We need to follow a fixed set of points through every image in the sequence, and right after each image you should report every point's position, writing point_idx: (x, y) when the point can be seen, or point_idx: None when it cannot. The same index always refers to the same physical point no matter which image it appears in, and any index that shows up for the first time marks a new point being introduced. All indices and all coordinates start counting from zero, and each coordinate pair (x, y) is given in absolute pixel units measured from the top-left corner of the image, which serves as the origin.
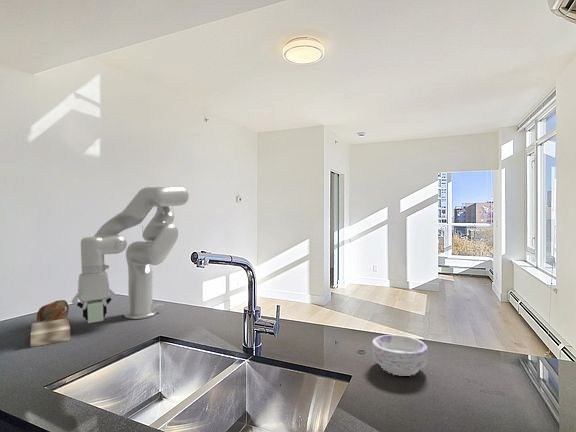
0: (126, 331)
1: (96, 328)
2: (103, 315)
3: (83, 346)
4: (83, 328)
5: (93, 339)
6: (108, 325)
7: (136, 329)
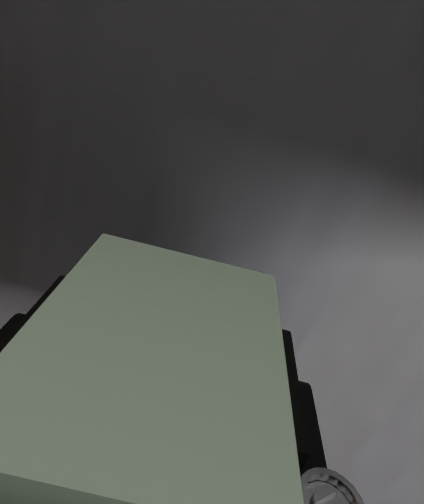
0: (333, 464)
1: (204, 252)
2: None
3: None
4: (108, 157)
5: None
6: (322, 248)
7: (402, 475)
